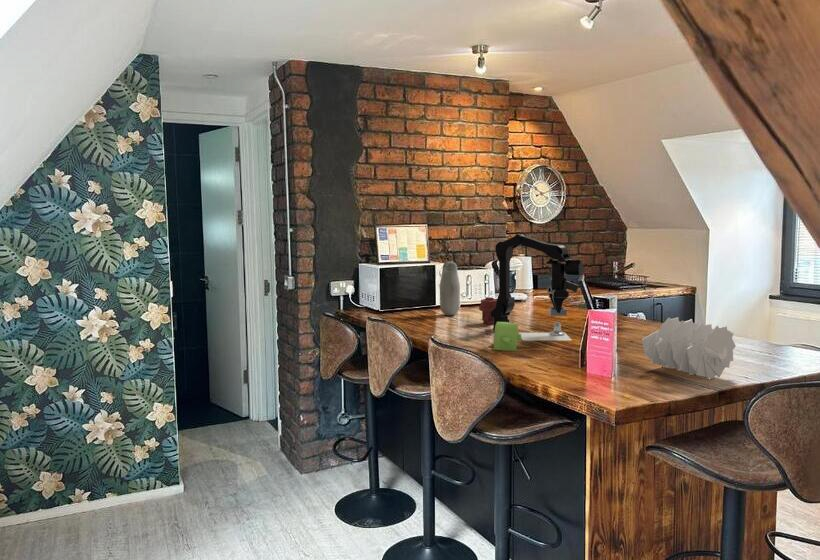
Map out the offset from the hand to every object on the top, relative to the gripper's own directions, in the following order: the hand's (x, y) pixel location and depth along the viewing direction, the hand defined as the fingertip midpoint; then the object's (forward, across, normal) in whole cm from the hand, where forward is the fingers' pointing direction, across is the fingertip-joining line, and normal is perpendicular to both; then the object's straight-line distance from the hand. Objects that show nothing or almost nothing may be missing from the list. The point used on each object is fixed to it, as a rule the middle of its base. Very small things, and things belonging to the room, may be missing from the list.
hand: (557, 311), depth 276 cm
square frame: (+1, 0, 0) cm, 1 cm away
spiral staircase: (+11, -64, -32) cm, 72 cm away
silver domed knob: (+10, 0, 0) cm, 10 cm away
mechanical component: (+11, +31, +27) cm, 42 cm away
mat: (+10, -4, +6) cm, 13 cm away
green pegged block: (+11, -26, +23) cm, 36 cm away
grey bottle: (+11, +56, +46) cm, 73 cm away
